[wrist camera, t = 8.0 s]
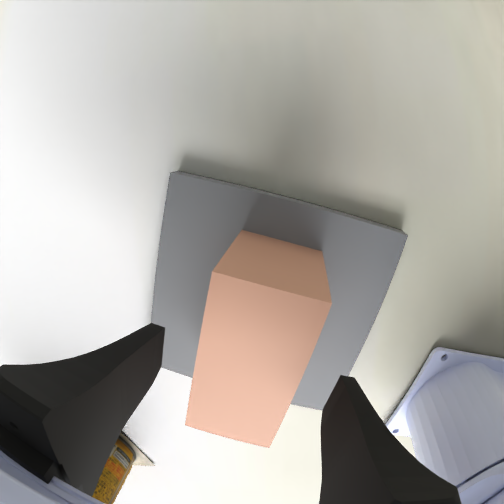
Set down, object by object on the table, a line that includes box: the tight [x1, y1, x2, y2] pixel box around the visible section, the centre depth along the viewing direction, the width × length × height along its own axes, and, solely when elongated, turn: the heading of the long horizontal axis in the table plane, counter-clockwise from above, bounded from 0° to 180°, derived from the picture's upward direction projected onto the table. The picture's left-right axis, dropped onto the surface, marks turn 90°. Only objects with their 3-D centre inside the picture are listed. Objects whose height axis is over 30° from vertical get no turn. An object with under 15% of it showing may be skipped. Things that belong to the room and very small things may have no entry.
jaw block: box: [185, 230, 332, 448], centre depth 14 cm, size 4×8×6 cm, turn 167°
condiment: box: [92, 433, 155, 504], centre depth 19 cm, size 7×8×12 cm
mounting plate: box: [151, 171, 408, 410], centre depth 17 cm, size 12×12×1 cm
